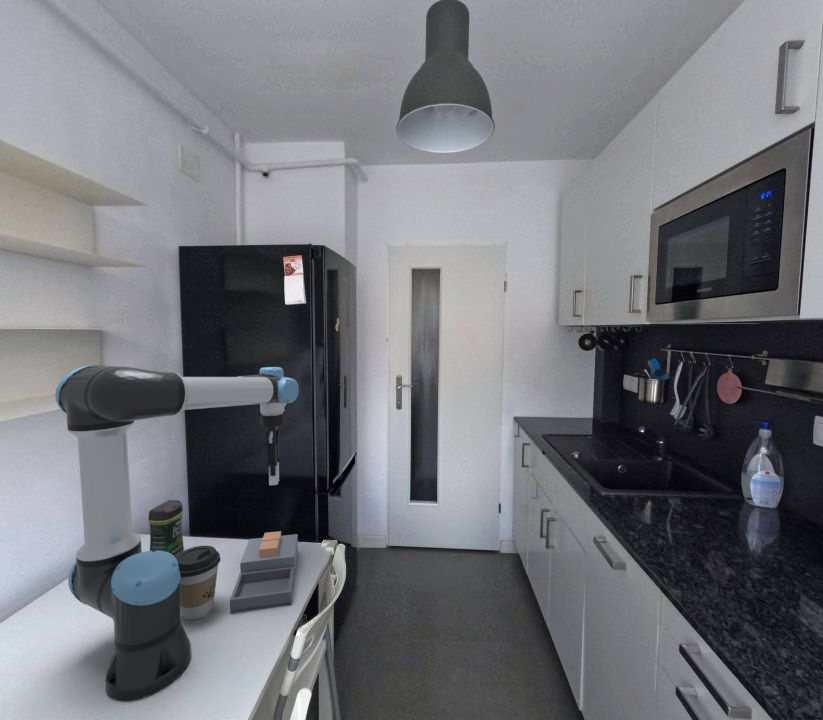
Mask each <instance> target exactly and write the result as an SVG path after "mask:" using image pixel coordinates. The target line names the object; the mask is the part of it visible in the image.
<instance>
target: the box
mask: <svg viewBox="0 0 823 720" xmlns="http://www.w3.org/2000/svg"><path fill="white" fill-rule="evenodd" d="M294 583H295V576H294V567H287V568H279V569H271V570H263V571H255V572H246V573H241V572H240V573H239V575H238V577H237V581H236V582H235V585H234V589H232V593H231V596H230V598H229V613H230V614H235V613H241V612H242V613H243V612H249V611H256V610H263V609H271V608H275V607H276V608H277V607H284V606H289V605H290V606H291V605H292V600H293V598H292V597H293V591H294Z"/></svg>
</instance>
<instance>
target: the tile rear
mask: <svg viewBox="0 0 823 720" xmlns="http://www.w3.org/2000/svg"><path fill="white" fill-rule="evenodd" d="M281 536H282V531H281V530H280V531H270V532H264V535H263V537H262V538H263V540H262V541H270V540H279V546H280V541H281Z"/></svg>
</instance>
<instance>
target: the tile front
mask: <svg viewBox="0 0 823 720" xmlns="http://www.w3.org/2000/svg"><path fill="white" fill-rule="evenodd" d="M278 550H279V540H270V541H262V543H261V546H260V549H259V558H264V557H272V556H277V555H278Z"/></svg>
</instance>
